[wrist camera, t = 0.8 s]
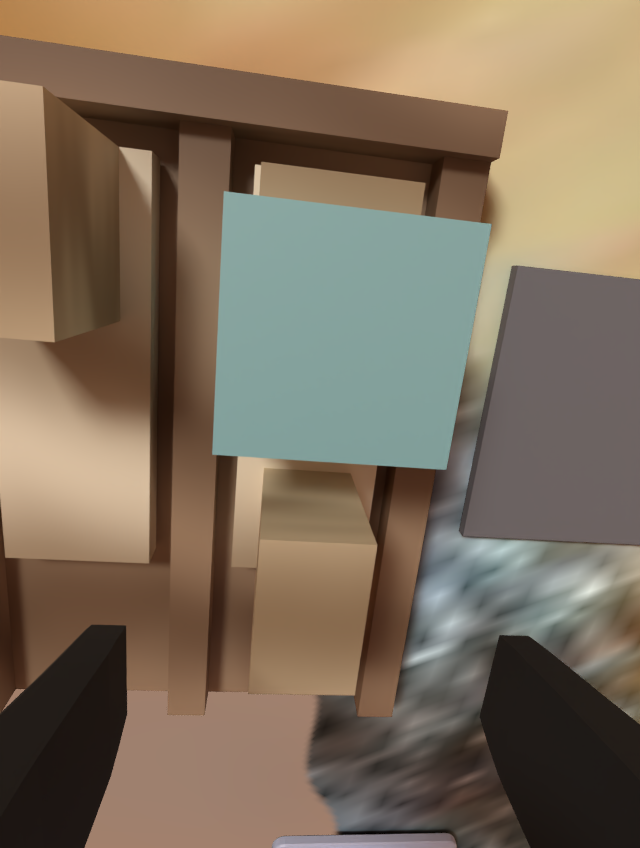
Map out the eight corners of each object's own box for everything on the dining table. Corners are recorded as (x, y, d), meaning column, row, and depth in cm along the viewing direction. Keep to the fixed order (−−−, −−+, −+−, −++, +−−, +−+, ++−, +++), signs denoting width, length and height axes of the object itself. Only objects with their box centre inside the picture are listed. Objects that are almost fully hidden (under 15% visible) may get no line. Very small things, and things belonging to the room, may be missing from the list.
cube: (394, 409, 14) (446, 469, 10) (231, 396, 14) (212, 454, 9) (419, 240, 13) (491, 223, 9) (241, 219, 12) (223, 190, 8)
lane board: (380, 673, 19) (394, 729, 17) (-7, 666, 18) (-50, 727, 15) (468, 138, 14) (508, 110, 12) (-66, 62, 13) (-145, 13, 10)
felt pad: (689, 542, 19) (698, 547, 18) (459, 530, 18) (463, 536, 17) (775, 295, 16) (787, 296, 16) (512, 266, 15) (518, 265, 15)
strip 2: (354, 576, 17) (385, 695, 12) (232, 571, 16) (215, 693, 11) (407, 190, 13) (480, 147, 9) (256, 171, 13) (245, 114, 8)
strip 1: (156, 547, 16) (105, 664, 11) (20, 541, 15) (-92, 661, 11) (160, 159, 13) (93, 93, 8) (-10, 137, 12) (-188, 53, 7)
